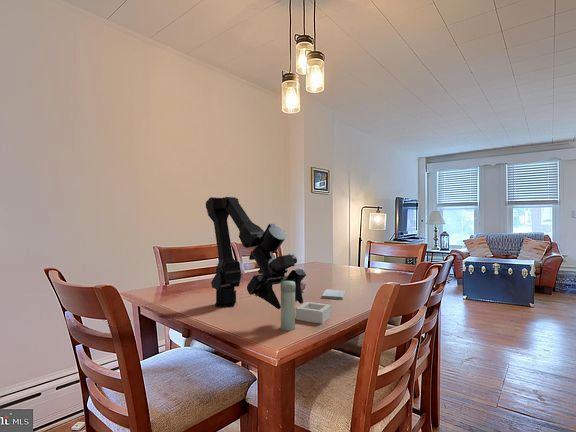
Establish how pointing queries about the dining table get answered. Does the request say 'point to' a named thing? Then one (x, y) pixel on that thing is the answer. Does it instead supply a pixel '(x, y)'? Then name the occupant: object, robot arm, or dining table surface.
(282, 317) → the toggle switch lever
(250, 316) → the dining table surface
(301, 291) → the video game controller
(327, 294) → the hard drive
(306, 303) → the housing
